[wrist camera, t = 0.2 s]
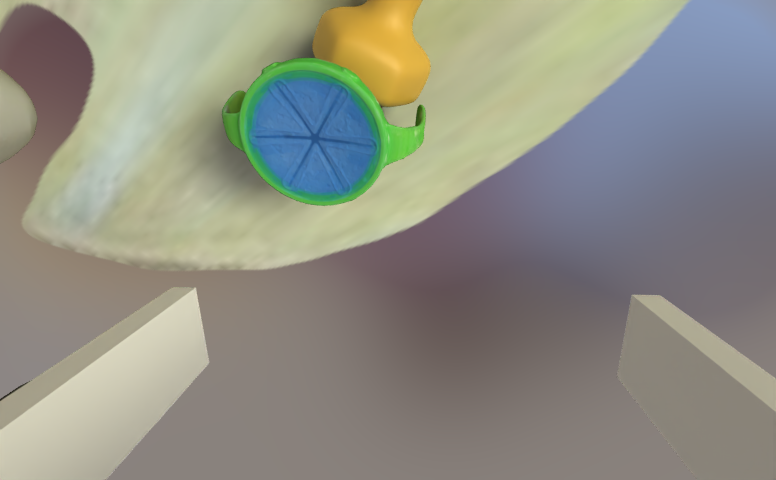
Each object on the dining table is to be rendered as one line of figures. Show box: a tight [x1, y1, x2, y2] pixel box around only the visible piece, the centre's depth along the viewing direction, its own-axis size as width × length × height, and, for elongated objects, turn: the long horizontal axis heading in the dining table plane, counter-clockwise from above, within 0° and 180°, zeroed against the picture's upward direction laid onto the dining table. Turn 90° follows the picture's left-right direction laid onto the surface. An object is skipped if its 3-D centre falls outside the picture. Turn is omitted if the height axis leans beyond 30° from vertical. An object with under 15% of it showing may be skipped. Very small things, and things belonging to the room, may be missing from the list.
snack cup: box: [222, 58, 426, 206], centre depth 31 cm, size 16×10×10 cm
